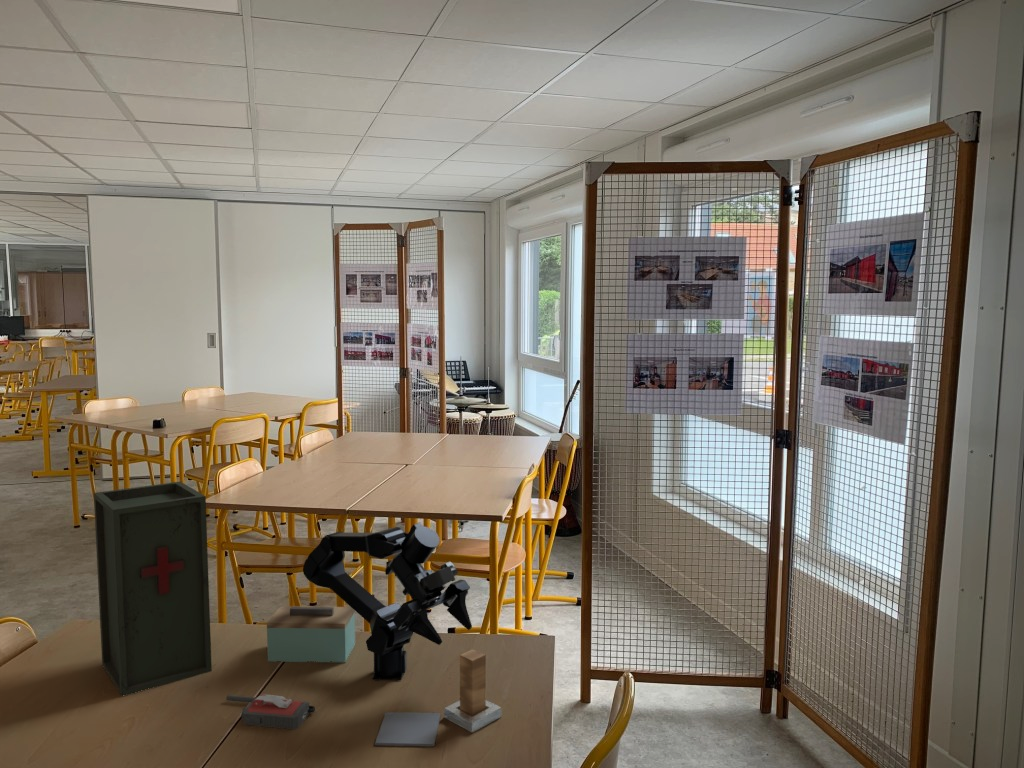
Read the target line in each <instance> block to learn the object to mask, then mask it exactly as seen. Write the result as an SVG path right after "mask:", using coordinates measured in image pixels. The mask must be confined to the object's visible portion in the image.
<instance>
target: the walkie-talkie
mask: <svg viewBox="0 0 1024 768" xmlns="http://www.w3.org/2000/svg"><path fill="white" fill-rule="evenodd" d="M226 701H232V702H241V703H242V702H243V703H250V704H248V705H247V707H244V708H243V709H242V711H241V715H240V716H241V719H242V720H243V721H242V723H243V725H246V726H257V727H267V728H278V729H279V728H280V729H284V730H285V729H290V730H296V729H299V728H300V726H301V725H302V724H303V722H305V720H306V719H307V718H308V717H309V716H310V714H312V713H315V712H316V707H315V705H310V702H308V701H303V700H292V699H291V698H290V699H287V698H286V697H284V696H282V695H272V694H259V695H258V696H257V697H253V696H245V695H244V696H243V695H231V694H228V695H227V696H226Z"/></svg>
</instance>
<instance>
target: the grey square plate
mask: <svg viewBox="0 0 1024 768" xmlns="http://www.w3.org/2000/svg"><path fill="white" fill-rule="evenodd" d="M440 720H441V712H396V711H395V712H393V711H389V712H387V711H386V712H385V714H384V716H383V719H382V723H381V725H380V728H379V731H378V733H377V736H376V739H375V743H374V745H375V746H379V747H380V746H386V747H389V746H390V747H435V742H436V739H437V734H438V729H439V725H440Z"/></svg>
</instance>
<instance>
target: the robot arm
mask: <svg viewBox="0 0 1024 768" xmlns="http://www.w3.org/2000/svg"><path fill="white" fill-rule="evenodd" d="M439 544H440V536H439V535H438V533H437V532H436V531H435V530H433V529H431V527H428V526H423V525H422V523H421V522H417V523H414V524H412V526H411V527H410V529H409V531H408V532H406V531H403V529H402V527H399V526H394V527H390V528H386V529H383V530H379V531H376V532H343V531H336V532H333V533H329V534H325V535H324V536H323V537H322V538H321V539H320V542H319V544H318V545H317V546H316V547H315V548H314V549H313V550H312V551H311V552H310V553H309V554H308V555H307V557H306V559H305V560H304V563H303V566H302V573H303V575H304V577H305V578H306V579H307V581H309V582H311V583H312V584H314V585H315V586H317V587H322V588H327V589H329V590H331V591H332V592H334V593H335V594H336V595H337V596H338V597H339V598H340V599H341V600H342V601H344V602H345V603H346V604H347V605H348V607H352V608H353V609H354V610H355V613H357V614H358V615H359V616H361V617H362V618H363V619H364V620H365V621H366V622H367V623H368V624H369V628H370V634H371V635H370V636H369V637H368V638H367V639H366V640H365V643H366V648H367V651H369V652H371V653H373V674H372V675H371V679H372V680H384V681H385V680H391V681H392V680H397V681H398V680H399V681H400V680H402V679H403V675H404V674H405V673H406V671H407V668H408V667H407V665H408V663H407V661H408V660H407V657H408V656H407V653H408V652H407V650H405V645H406V644H409V643H410V642H411V639H412V637H413V635H414V634H417V635H419V636H421V637H423V638H424V639H426V640H429V641H430V642H432V643H434V644H436V645H438V646H440V645H441V644H442V643H443V640H442V638H441V635H440V634H439V633H438V631H437V629H436V628H435V627H434V626H433V624H432V622H431V620H430V619H429V617H428V611H427V610H430V609H432V608H434V607H436V606H439V605H441V604H442V605H443V606H445V607H447V609H446V611H447V612H448V613H449V614H450V615H451V616H452V617H453V618H454V619H456V621H458V623H459V624H460V625H462V626H463V627H464V628H466V629H467V630H468V631H470V630H471V629H472V628H473V626H472V621H471V618H470V616H469V611H468V609H467V605H466V603H467V602H466V597H467V595H468V594H469V590H470V589H471V586H470V585H469V583H468V582H467V581H466V580H464V579H459V580H456V578H455V577H456V576H457V575H458V570H457V567H456V566H455V564H453V562H451V561H448V562H446V563H444V564H442V565H440V569H437V570H436V571H433V570H431V569H427V570H426V569H425V568H424V566H423V564H425V563H426V562H427V561H428V560H429V558H430V557H431V555H432V554H433V553H434V551H435V550H436V548H437V547H438V545H439ZM346 552H354V553H355V552H357V553H367V554H368V556H370V557H372V558H375V559H380V560H381V559H386V558H389V557H392V556H393V558H392V559H391V560H388V561H386V562H385V563H386V565H385V566H386V567H385V572H384V574H385V575H386V576H389V575H390V574H391V575H392V574H394V575H395V576H396V578H397V580H398V581H399V582H400V584H401V585H402V586H403V588H404V589H403V590H402V593H403V595H404V596H408V595H409V596H410V598H411V599H410V600H408V601H406V602H403V603H402V604H401V605H400V604H399V603H397V602H394V603H391V604H389V605H385V604H383V603H382V602H381V601H380V600H379V599H377V598H376V597H375V596H374V595H372V593H371V592H369V591H368V590H367V589H366V588H364V587H363V586H362V585H361V584H360V583H358V582H357V581H356V580H355V579H354V578H353V577H352V576H350V575H349V573H347V572H346V569H345V563H344V561H343V560H344V559H345V557H346ZM450 582H451V583H450ZM448 583H449V584H448ZM447 584H448V586H446V585H447ZM444 589H445V590H444ZM442 591H443V592H442Z"/></svg>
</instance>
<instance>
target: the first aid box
mask: <svg viewBox="0 0 1024 768" xmlns="http://www.w3.org/2000/svg"><path fill="white" fill-rule="evenodd" d="M93 504H94V506H93V507H94V525H95V526H94V527H95V528H94V529H95V544H96V546H95V547H96V567H97V568H96V569H97V585H98V587H97V589H98V607H99V626H100V627H99V628H100V648H101V664H102V665H101V666H102V667H103V666H104V667H103V669H104V668H105V669H104V671H105V672H106V671H107V672H106V674H107V675H108V677H109V676H110V677H111V678H110V677H109V678H110V680H111V679H112V680H111V682H112V683H113V682H114V683H113V685H114V684H115V685H116V686H115V685H114V686H115V688H116V687H117V688H118V689H117V688H116V689H117V691H118V690H119V691H118V693H119V692H120V693H121V694H120V693H119V694H120V695H122V696H123V695H126V694H130V695H132V694H131V693H133V694H136V693H135V692H137V693H139V692H138V691H140V692H142V691H141V690H144V691H146V690H145V689H147V690H150V688H151V689H153V687H154V688H157V686H158V687H161V686H164V685H168V684H171V683H174V682H179V681H181V680H185V679H189V678H192V677H196V676H199V675H203V674H206V673H210V672H212V671H213V670H212V668H213V667H212V664H213V663H212V641H211V613H210V612H211V611H210V589H209V587H210V586H209V583H210V581H209V559H208V558H209V557H208V555H209V554H208V529H207V528H208V527H207V526H208V525H207V524H208V523H207V499H206V495H204V494H202V493H200V492H199V491H197V490H195V489H194V488H192V487H191V486H189V485H187V484H185V483H183V482H182V481H173V482H167V483H166V482H165V483H158V484H151V485H143V486H136V487H130V488H129V487H128V488H121V489H113V490H105V491H97V492H93ZM148 688H149V689H148ZM122 696H121V697H122ZM126 696H127V695H126ZM123 697H124V696H123Z"/></svg>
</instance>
